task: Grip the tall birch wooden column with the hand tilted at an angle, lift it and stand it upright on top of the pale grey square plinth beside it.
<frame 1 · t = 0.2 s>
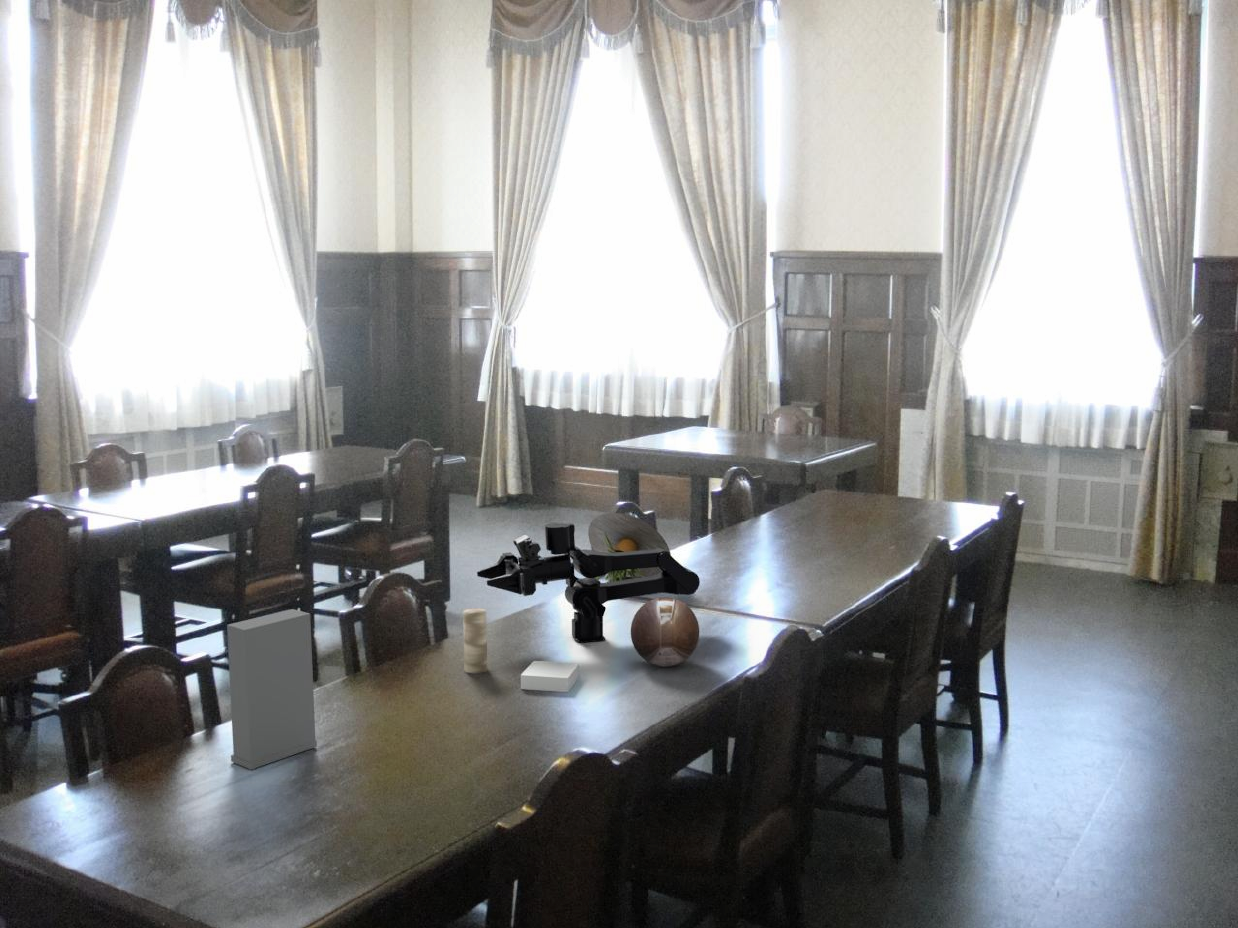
hand: (482, 578, 282), 17 cm above the table, tool horizontal, fingers open, 9 cm apart
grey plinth: (550, 682, 260), on the table
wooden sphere: (664, 665, 272), on the table
potted plant: (623, 585, 345), on the table
upright grey box: (274, 756, 221), on the table
birch column: (475, 669, 269), on the table
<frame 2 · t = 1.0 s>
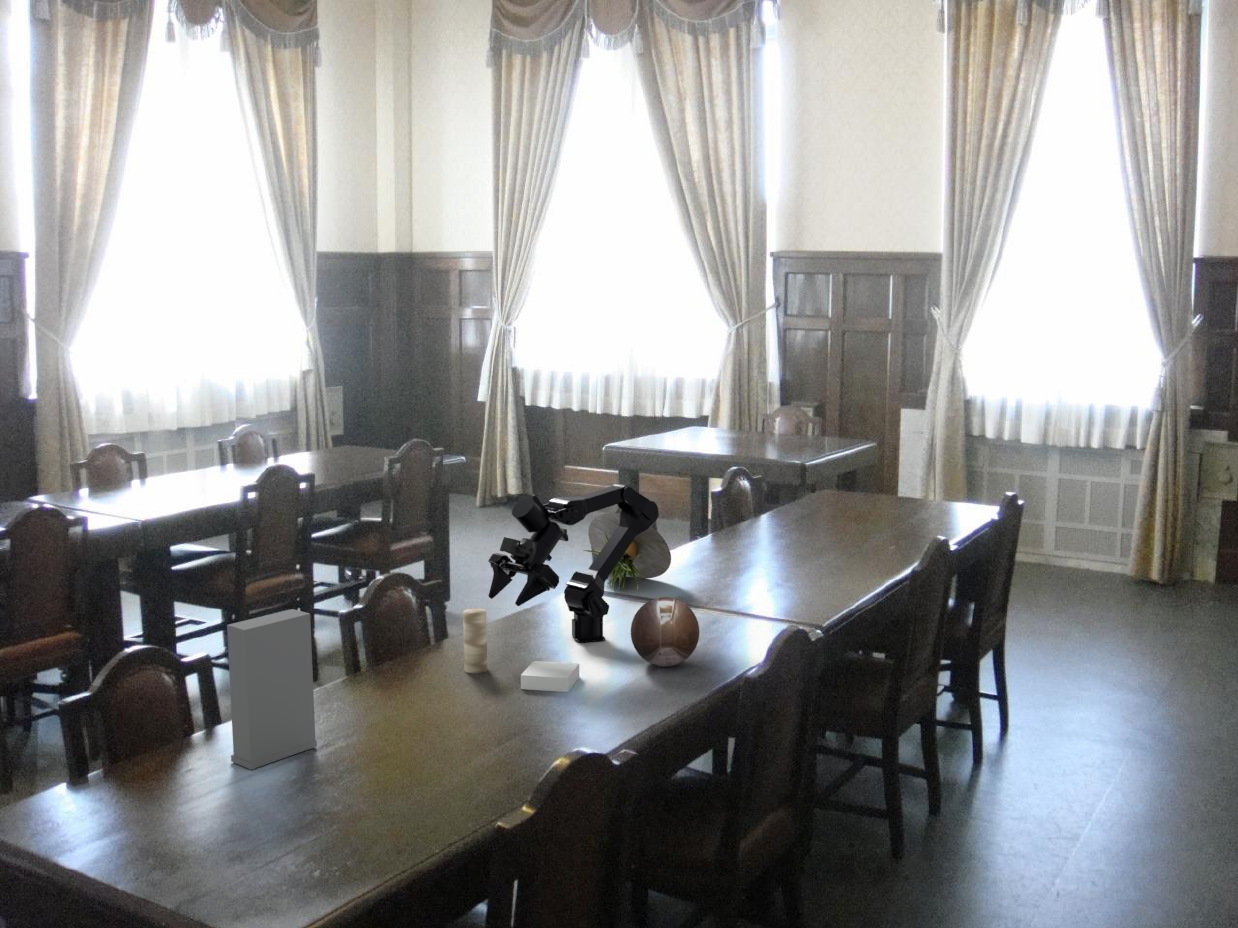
hand: (503, 601, 273), 14 cm above the table, tool tilted 45°, fingers open, 9 cm apart
nothing on the table moved.
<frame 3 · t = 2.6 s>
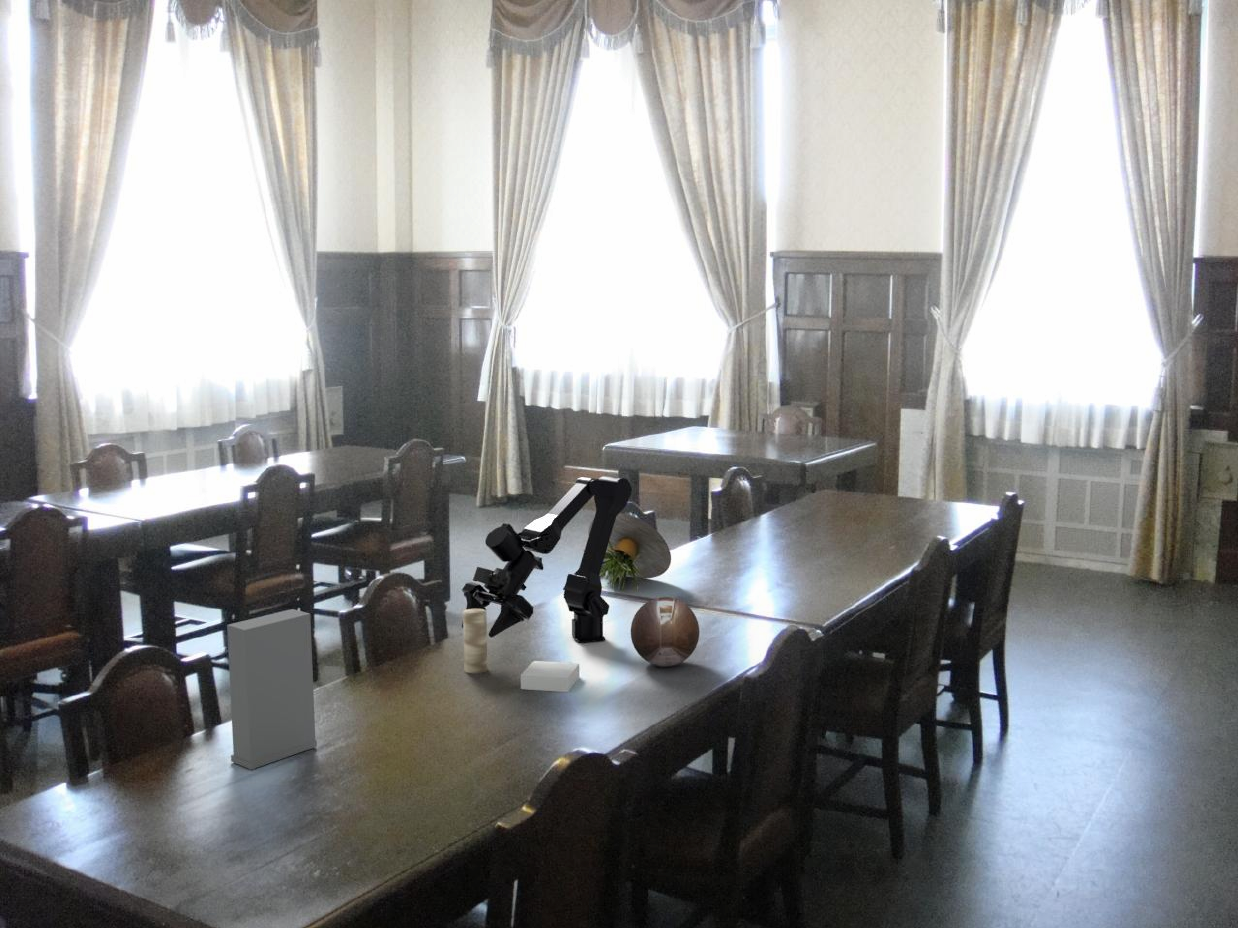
hand: (476, 632, 268), 8 cm above the table, tool tilted 45°, fingers open, 9 cm apart
nothing on the table moved.
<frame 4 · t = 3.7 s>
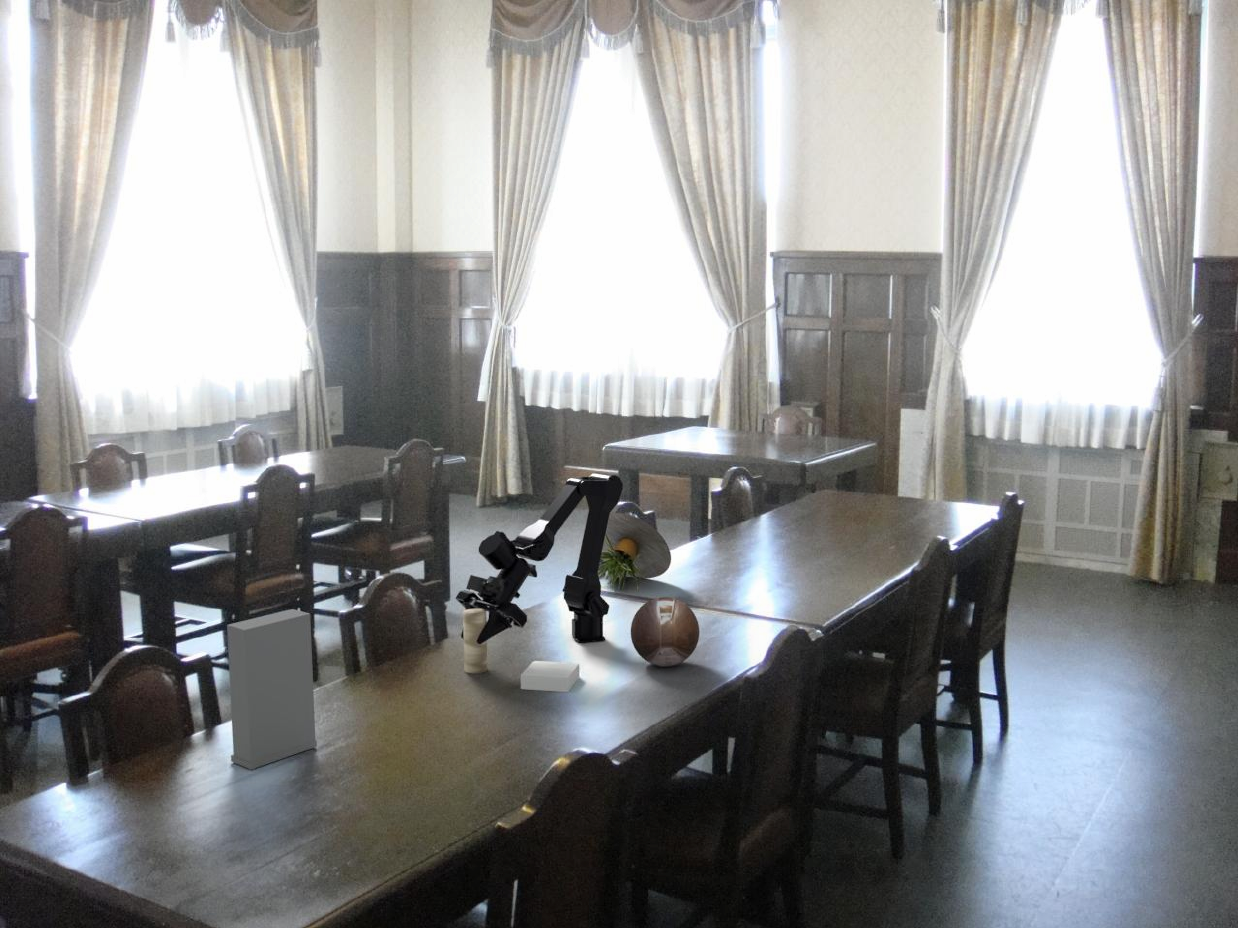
hand: (470, 640, 267), 7 cm above the table, tool tilted 45°, fingers closed on birch column, 5 cm apart
birch column: (475, 669, 269), on the table, touching gripper
everything else where it was.
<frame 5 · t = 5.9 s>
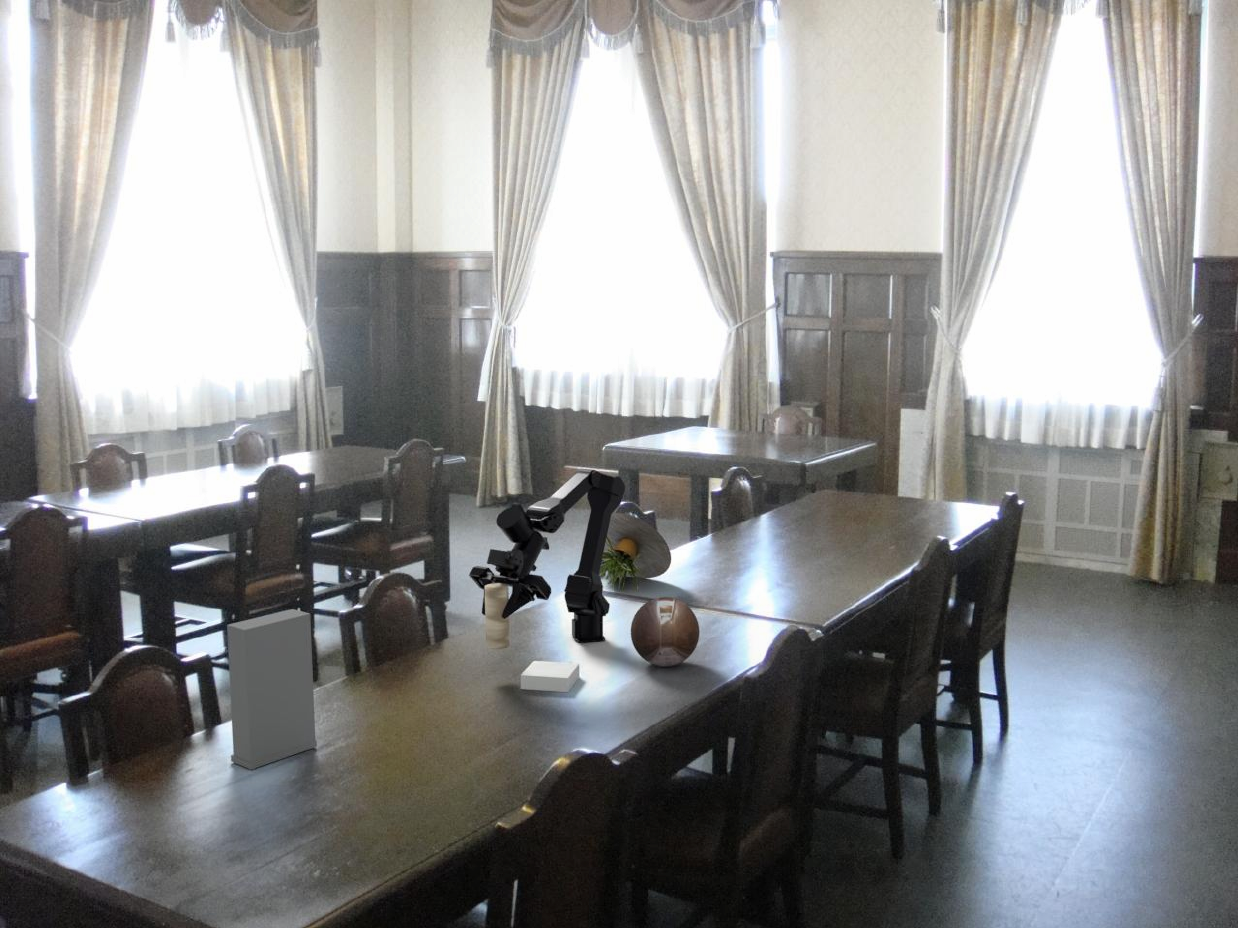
hand: (493, 616, 262), 13 cm above the table, tool tilted 45°, fingers closed on birch column, 5 cm apart
birch column: (497, 645, 264), point 7 cm above the table, touching gripper
everything else where it was.
when the fingers open (11 cm above the table, at t = 7.9 s): birch column drops 1 cm, resting on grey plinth.
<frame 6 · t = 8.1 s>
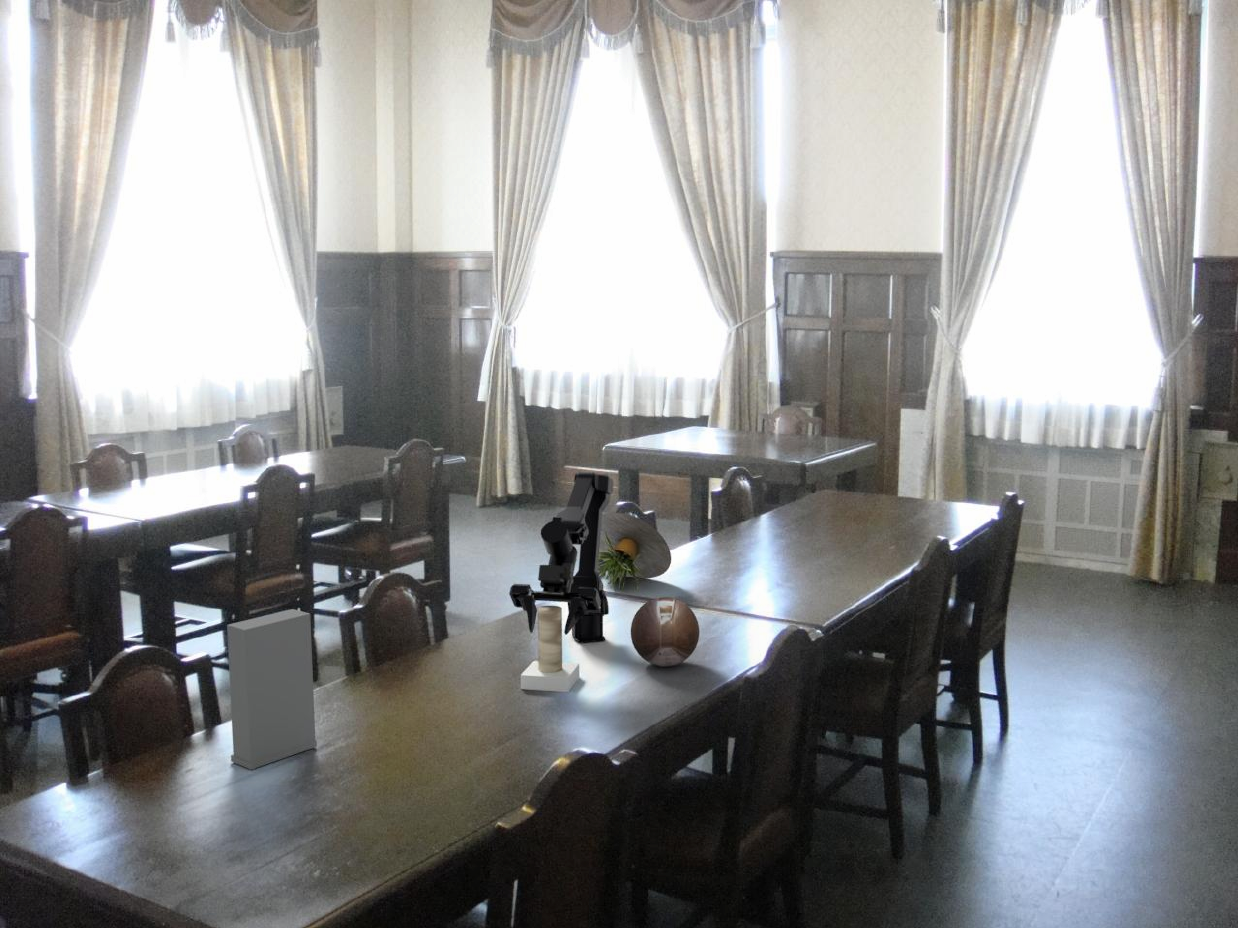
hand: (548, 632, 257), 11 cm above the table, tool tilted 45°, fingers open, 7 cm apart
birch column: (550, 668, 260), point 3 cm above the table, touching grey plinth
everything else where it was.
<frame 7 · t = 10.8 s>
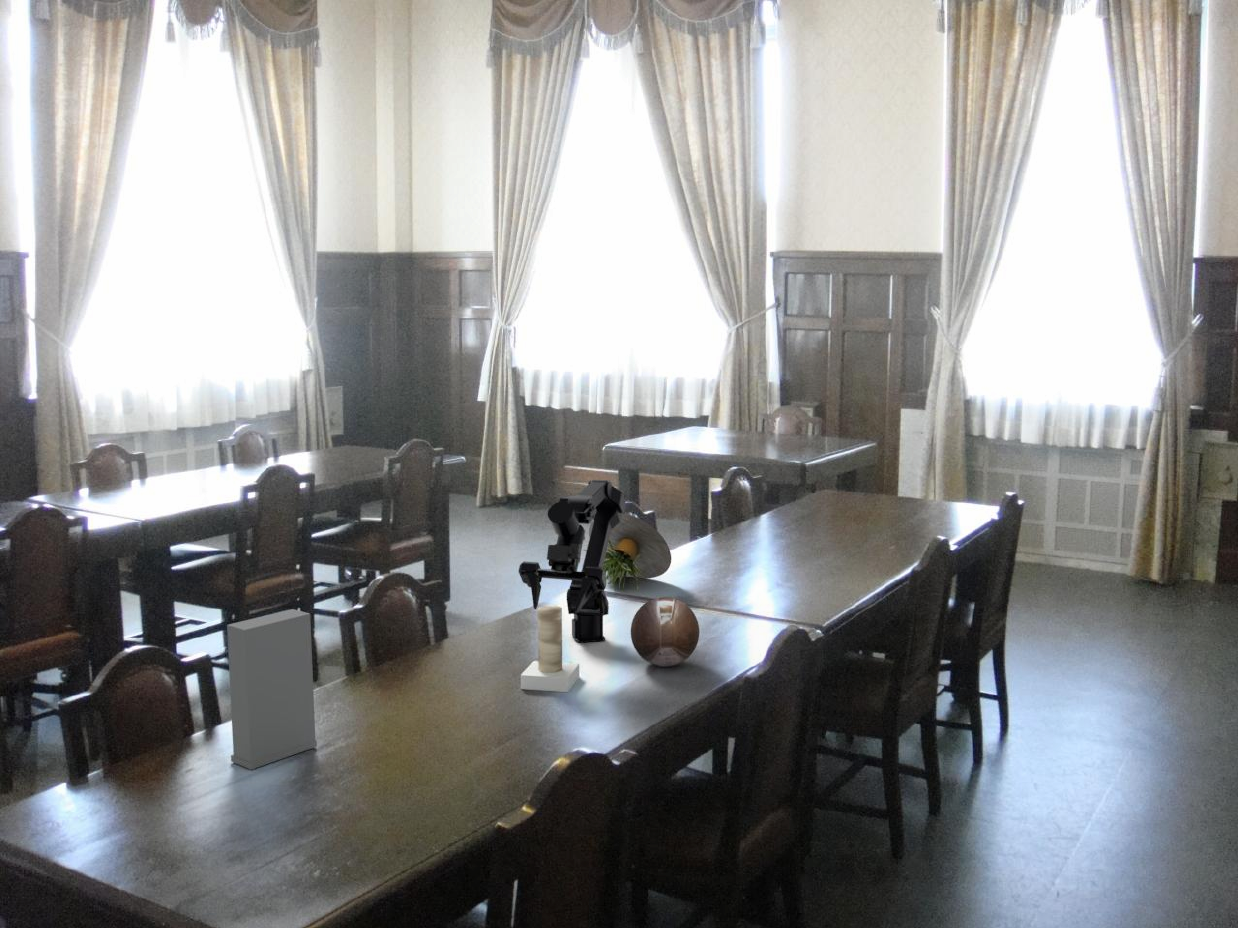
hand: (555, 610, 267), 13 cm above the table, tool tilted 40°, fingers open, 9 cm apart
nothing on the table moved.
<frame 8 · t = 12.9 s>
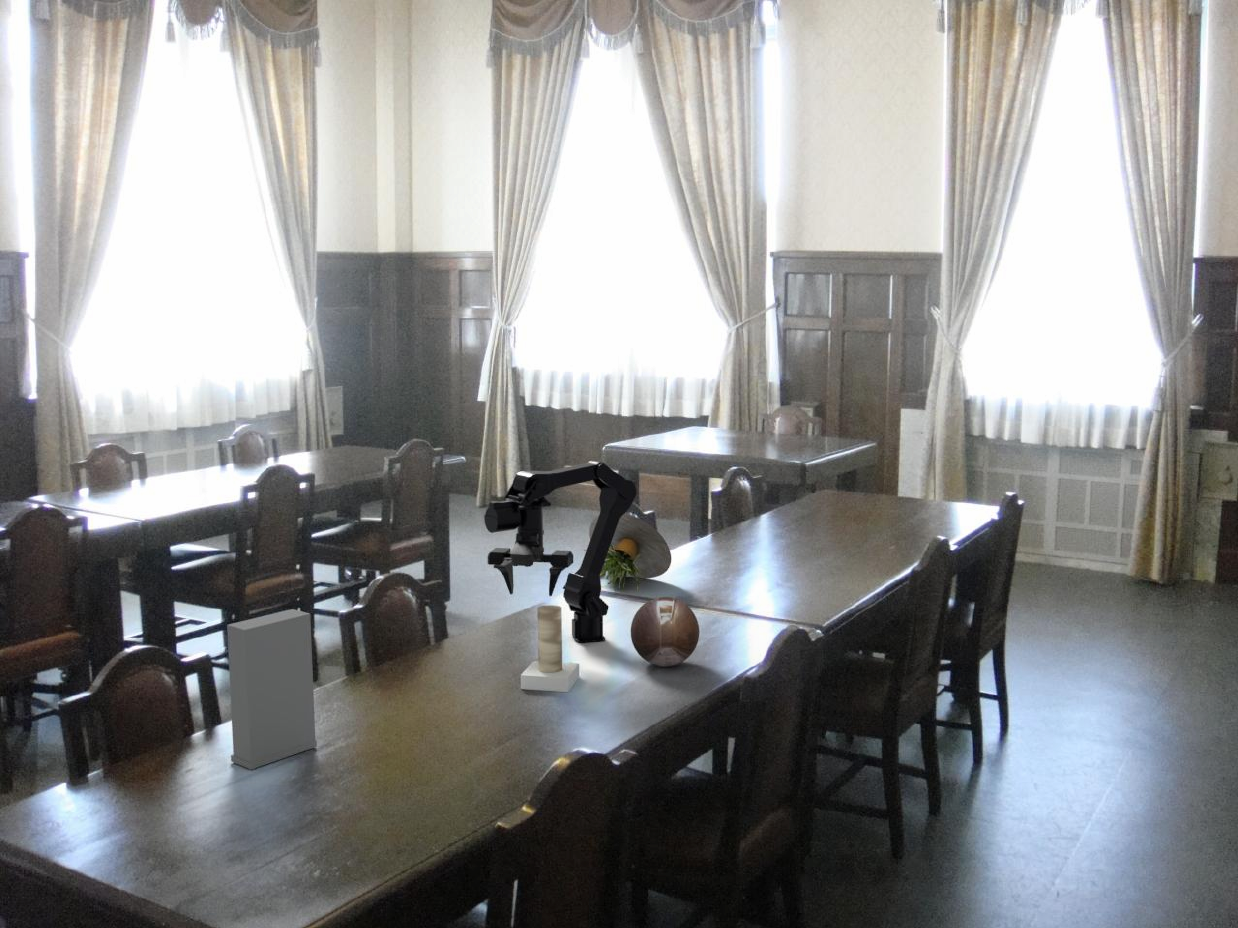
hand: (531, 594, 281), 13 cm above the table, tool pointing down, fingers open, 9 cm apart
nothing on the table moved.
at the end: birch column 0.1 cm off-centre on the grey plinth, point 3.0 cm above the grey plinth's base; birch column tilted 1°; the gripper is holding nothing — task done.
